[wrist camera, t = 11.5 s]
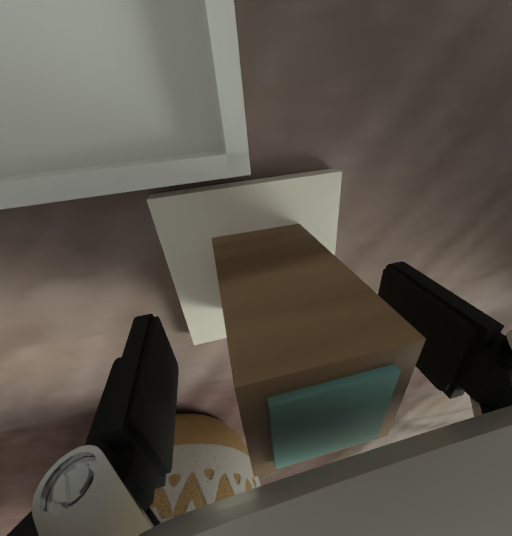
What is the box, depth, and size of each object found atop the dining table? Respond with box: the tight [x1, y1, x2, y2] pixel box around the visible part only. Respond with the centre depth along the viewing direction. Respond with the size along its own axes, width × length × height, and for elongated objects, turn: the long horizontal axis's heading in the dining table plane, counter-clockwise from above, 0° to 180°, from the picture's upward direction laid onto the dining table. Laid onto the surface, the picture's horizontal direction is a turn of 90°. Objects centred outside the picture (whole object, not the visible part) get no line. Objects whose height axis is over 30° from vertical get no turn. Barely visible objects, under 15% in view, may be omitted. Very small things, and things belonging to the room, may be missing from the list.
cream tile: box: [147, 168, 342, 345], centre depth 14 cm, size 9×9×1 cm
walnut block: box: [212, 224, 426, 477], centre depth 10 cm, size 4×4×8 cm
